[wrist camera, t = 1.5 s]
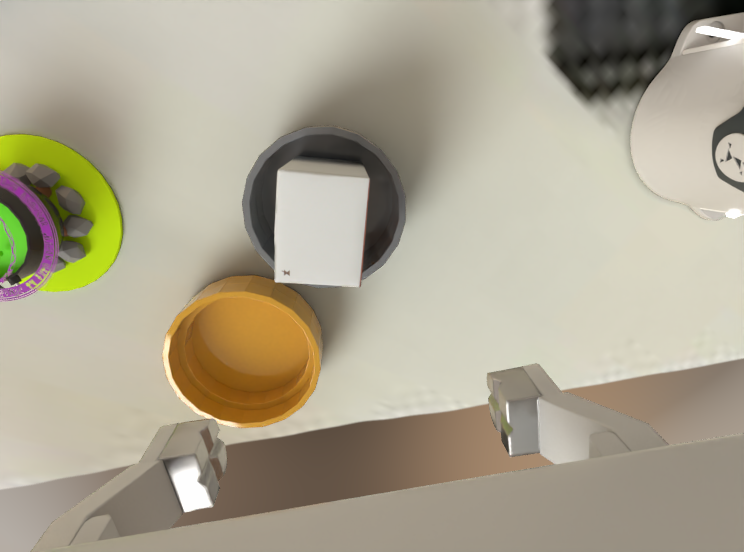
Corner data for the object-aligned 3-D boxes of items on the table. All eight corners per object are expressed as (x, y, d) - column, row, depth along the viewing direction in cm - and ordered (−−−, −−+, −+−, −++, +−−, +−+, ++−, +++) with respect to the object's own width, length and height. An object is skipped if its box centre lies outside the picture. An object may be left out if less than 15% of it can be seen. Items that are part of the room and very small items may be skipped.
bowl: (289, 253, 45) (282, 269, 40) (342, 373, 50) (342, 399, 45) (155, 302, 46) (133, 323, 41) (220, 415, 51) (207, 446, 46)
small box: (357, 243, 45) (361, 290, 32) (292, 238, 44) (271, 284, 32) (364, 160, 42) (371, 176, 30) (295, 153, 42) (274, 168, 29)
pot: (369, 103, 41) (373, 100, 35) (416, 239, 45) (426, 257, 40) (232, 157, 42) (214, 162, 36) (290, 285, 46) (283, 308, 40)
